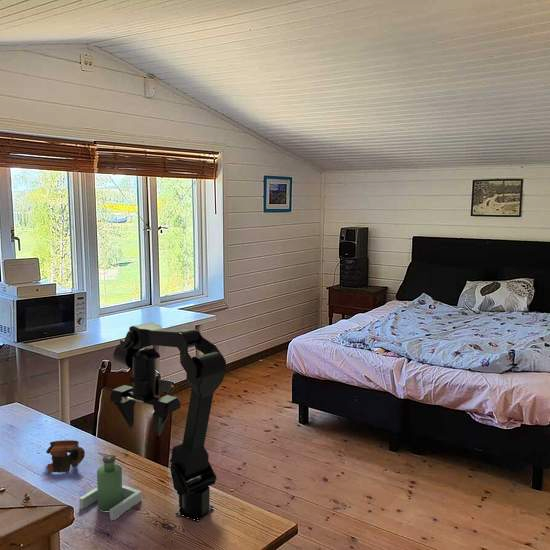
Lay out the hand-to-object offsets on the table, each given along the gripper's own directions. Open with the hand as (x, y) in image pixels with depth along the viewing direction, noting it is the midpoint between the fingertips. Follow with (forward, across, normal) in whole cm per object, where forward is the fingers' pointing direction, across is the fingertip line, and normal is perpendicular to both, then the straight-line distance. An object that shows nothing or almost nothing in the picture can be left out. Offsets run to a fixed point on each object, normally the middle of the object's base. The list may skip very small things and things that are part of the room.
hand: (145, 431), depth 143 cm
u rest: (+13, -1, +14) cm, 19 cm away
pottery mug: (+13, +23, +6) cm, 27 cm away
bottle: (+13, -1, +14) cm, 19 cm away
